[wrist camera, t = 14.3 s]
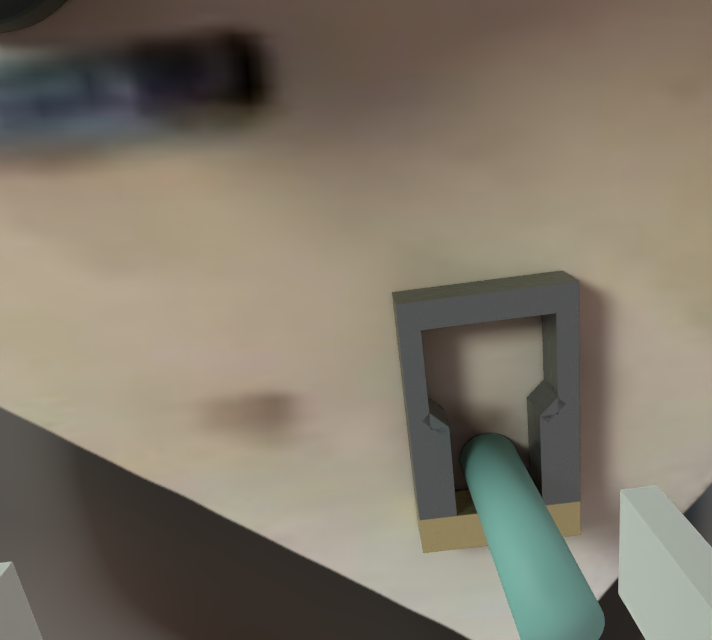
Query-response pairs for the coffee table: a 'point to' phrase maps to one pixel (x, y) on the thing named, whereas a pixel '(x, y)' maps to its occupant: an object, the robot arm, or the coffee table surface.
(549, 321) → the keyhole plate
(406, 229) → the coffee table surface
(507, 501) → the peg
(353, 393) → the coffee table surface
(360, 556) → the coffee table surface
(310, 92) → the coffee table surface
